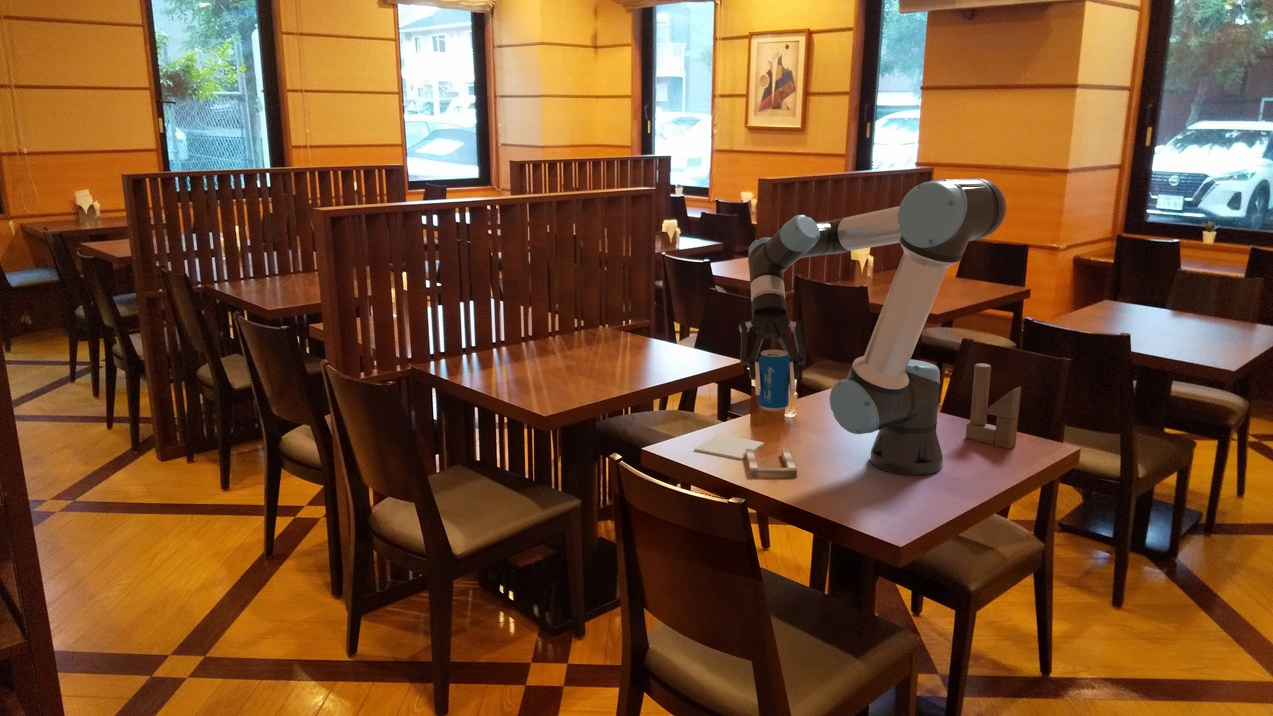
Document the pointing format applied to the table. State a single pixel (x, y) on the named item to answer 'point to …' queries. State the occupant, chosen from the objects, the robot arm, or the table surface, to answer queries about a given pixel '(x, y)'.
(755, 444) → the mat
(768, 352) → the beverage can
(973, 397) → the wooden block
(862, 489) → the table surface
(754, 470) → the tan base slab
